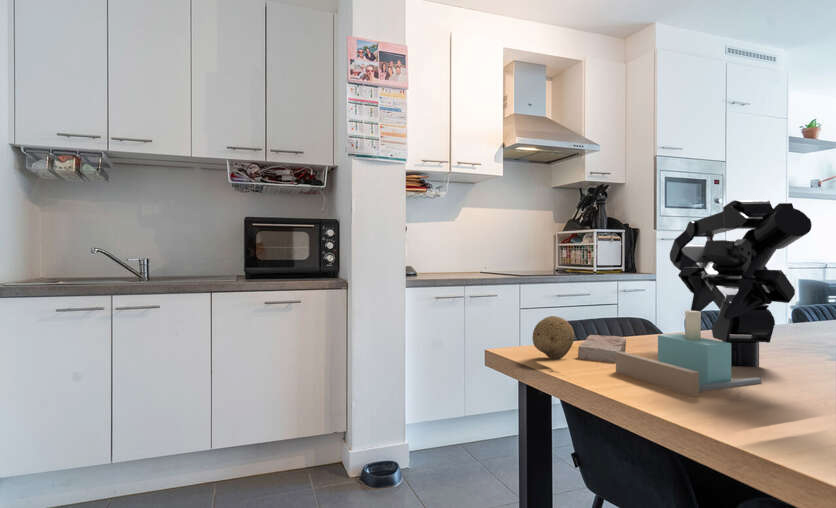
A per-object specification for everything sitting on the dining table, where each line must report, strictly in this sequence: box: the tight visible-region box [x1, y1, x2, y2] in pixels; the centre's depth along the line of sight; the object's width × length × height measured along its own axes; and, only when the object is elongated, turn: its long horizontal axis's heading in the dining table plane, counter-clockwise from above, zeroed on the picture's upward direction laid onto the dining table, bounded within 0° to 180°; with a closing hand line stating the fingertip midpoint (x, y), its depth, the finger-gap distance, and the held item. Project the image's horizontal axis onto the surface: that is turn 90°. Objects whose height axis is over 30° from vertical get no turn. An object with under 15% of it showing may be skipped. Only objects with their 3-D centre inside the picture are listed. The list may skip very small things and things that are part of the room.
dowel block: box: [657, 310, 732, 384], centre depth 81 cm, size 6×10×12 cm, turn 19°
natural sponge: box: [532, 315, 575, 361], centre depth 101 cm, size 9×9×10 cm
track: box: [615, 351, 763, 398], centre depth 81 cm, size 19×16×5 cm
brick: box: [577, 334, 627, 363], centre depth 101 cm, size 17×8×5 cm, turn 150°
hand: (708, 315), depth 82 cm, fingers open, 6 cm apart
